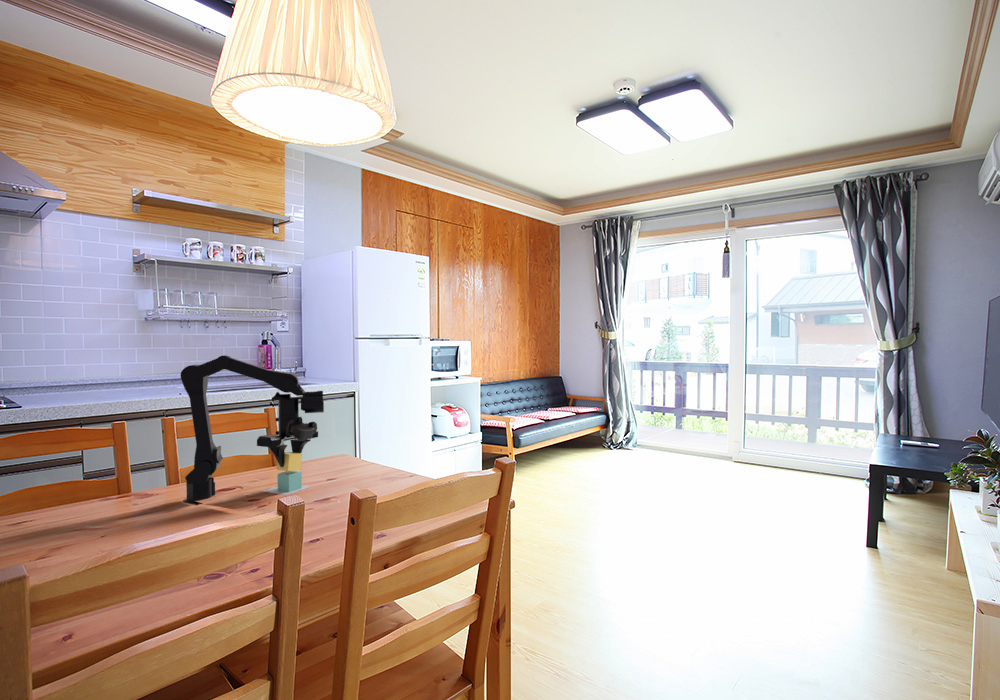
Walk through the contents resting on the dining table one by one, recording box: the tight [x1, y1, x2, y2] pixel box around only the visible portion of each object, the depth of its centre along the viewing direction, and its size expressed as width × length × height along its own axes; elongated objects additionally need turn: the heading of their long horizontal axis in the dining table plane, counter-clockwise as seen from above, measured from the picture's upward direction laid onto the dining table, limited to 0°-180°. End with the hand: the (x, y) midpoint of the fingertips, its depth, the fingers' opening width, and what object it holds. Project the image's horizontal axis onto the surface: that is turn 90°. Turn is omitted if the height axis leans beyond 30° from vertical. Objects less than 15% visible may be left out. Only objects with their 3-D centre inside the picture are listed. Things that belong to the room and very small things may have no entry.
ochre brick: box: [276, 451, 303, 472], centre depth 155 cm, size 5×5×5 cm
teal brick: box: [277, 470, 303, 492], centre depth 155 cm, size 5×5×5 cm
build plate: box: [263, 484, 312, 496], centre depth 156 cm, size 10×10×1 cm
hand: (289, 464), depth 155 cm, fingers closed on ochre brick, 5 cm apart
